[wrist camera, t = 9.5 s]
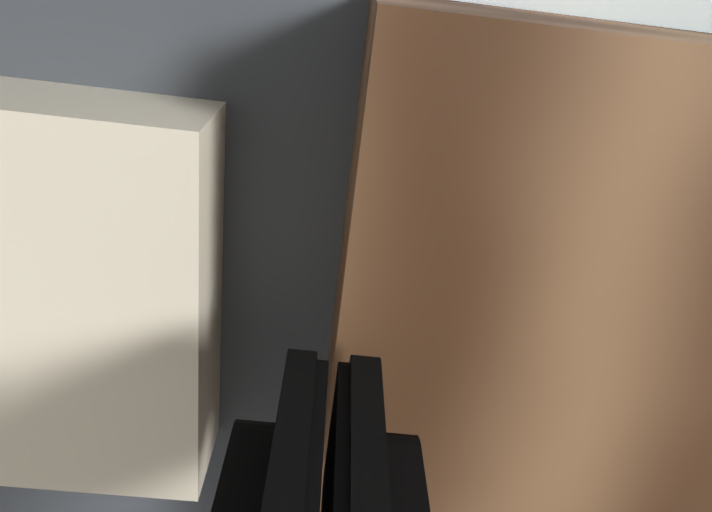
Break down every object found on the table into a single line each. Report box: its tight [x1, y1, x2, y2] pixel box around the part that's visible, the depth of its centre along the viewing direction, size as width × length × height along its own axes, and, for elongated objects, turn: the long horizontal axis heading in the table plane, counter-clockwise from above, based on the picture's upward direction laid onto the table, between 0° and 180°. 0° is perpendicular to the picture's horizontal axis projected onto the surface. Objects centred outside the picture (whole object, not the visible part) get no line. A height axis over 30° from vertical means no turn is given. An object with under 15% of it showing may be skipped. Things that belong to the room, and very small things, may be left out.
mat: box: [0, 0, 370, 512], centre depth 15 cm, size 16×18×1 cm
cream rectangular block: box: [0, 76, 226, 502], centre depth 14 cm, size 6×9×2 cm, turn 173°
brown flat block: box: [320, 0, 712, 512], centre depth 14 cm, size 16×14×4 cm
